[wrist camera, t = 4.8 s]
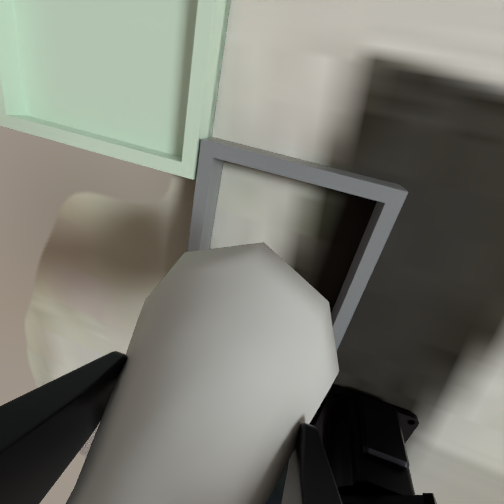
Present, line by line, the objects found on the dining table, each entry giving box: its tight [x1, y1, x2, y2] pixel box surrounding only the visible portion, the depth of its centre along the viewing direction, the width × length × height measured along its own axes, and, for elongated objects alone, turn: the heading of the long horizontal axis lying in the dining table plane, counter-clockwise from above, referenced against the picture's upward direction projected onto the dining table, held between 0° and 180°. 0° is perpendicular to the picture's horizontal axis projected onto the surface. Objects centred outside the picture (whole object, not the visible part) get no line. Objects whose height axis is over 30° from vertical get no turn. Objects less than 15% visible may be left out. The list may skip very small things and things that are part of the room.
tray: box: [0, 0, 231, 180], centre depth 16 cm, size 14×14×2 cm
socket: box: [187, 138, 408, 351], centre depth 18 cm, size 11×11×2 cm
